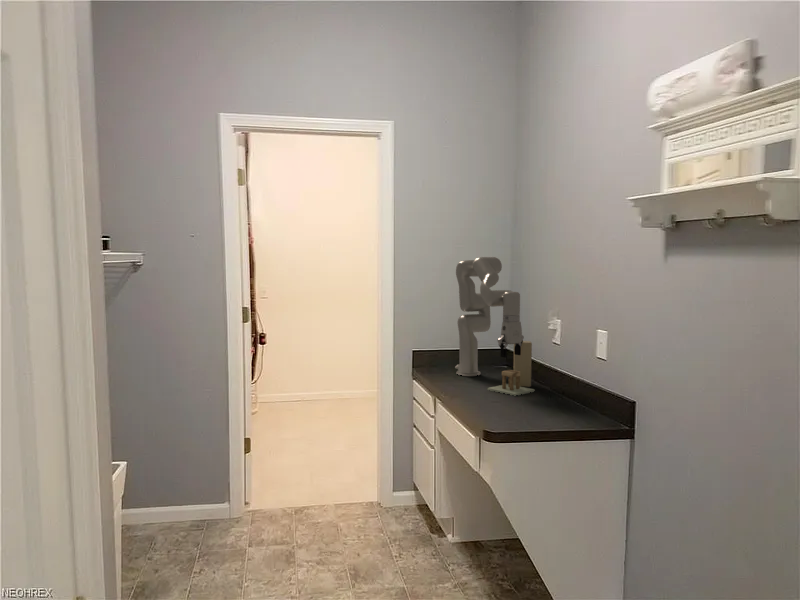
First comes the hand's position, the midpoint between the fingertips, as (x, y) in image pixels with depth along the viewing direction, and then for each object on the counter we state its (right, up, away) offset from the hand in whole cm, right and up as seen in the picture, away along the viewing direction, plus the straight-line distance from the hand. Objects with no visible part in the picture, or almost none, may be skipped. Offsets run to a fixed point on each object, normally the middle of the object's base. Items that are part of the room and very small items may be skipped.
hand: (510, 355), depth 267 cm
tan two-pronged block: (0, -15, +1) cm, 15 cm away
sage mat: (0, -16, +1) cm, 16 cm away
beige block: (+8, -15, +13) cm, 22 cm away
